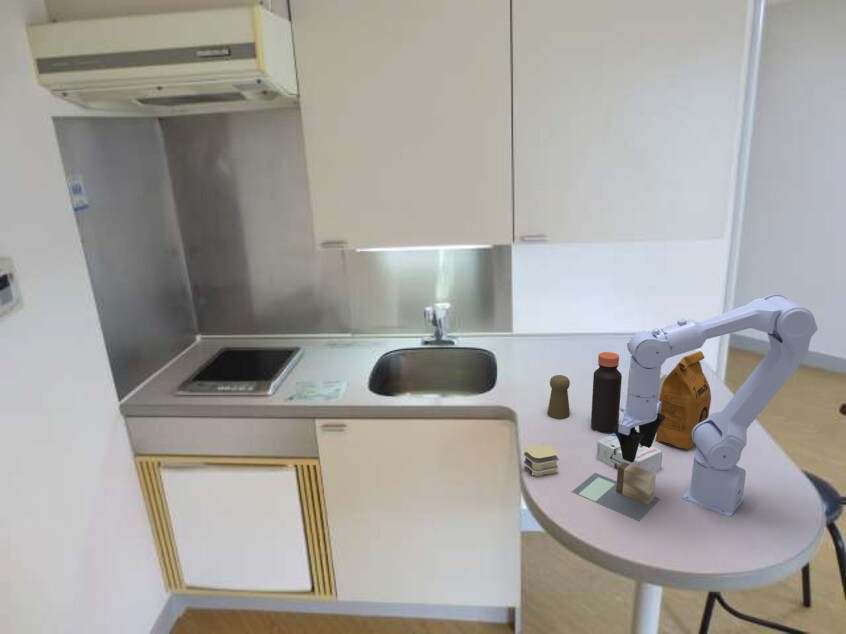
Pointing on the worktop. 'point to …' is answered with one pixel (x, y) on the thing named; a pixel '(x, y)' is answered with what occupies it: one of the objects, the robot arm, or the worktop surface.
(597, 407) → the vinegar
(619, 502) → the rubber mat
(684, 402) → the coffee package
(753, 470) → the worktop surface
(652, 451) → the ink box
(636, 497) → the card case
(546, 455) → the beige stacked block
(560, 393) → the olive pawn
